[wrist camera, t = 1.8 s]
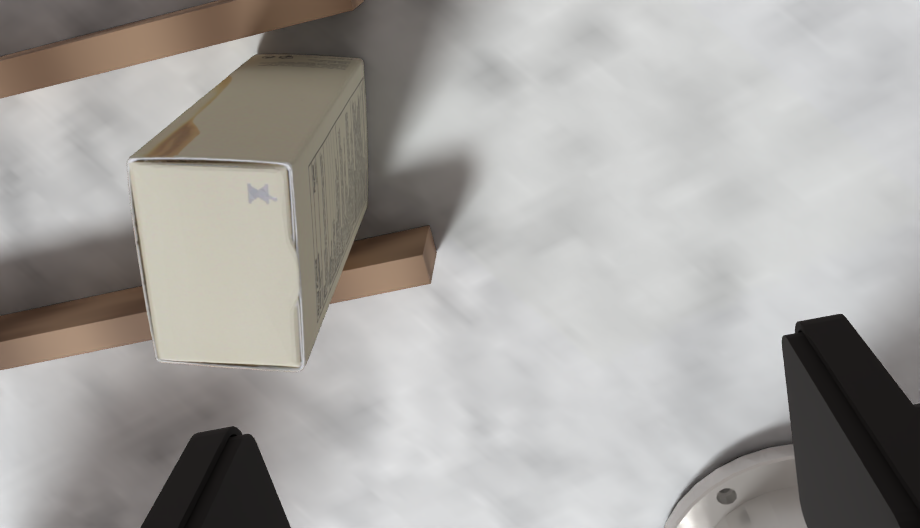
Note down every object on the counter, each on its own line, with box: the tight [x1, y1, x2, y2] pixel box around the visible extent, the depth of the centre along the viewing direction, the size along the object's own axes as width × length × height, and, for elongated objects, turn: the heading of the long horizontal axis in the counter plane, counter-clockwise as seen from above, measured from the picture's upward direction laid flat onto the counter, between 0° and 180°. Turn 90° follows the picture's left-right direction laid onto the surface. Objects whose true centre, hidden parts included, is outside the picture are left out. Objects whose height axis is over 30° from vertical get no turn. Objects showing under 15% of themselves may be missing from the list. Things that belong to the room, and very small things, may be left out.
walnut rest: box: [0, 0, 437, 370], centre depth 33 cm, size 22×11×3 cm, turn 104°
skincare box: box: [127, 54, 368, 372], centre depth 28 cm, size 6×4×12 cm
